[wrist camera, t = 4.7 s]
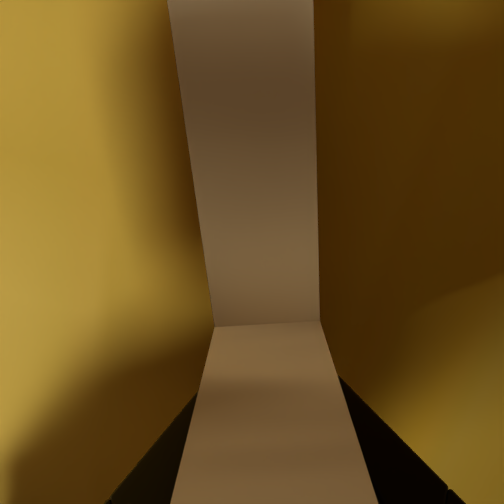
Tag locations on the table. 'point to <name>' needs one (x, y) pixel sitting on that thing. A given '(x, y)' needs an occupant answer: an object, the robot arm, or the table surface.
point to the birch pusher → (260, 263)
